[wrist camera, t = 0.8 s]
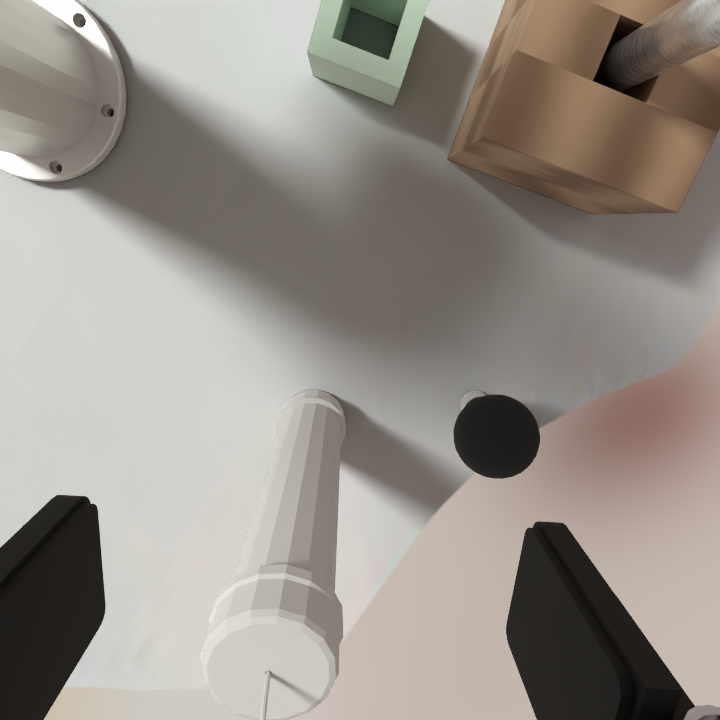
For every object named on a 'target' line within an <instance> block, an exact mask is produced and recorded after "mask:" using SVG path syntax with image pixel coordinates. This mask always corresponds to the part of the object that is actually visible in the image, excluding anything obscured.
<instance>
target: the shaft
mask: <svg viewBox="0 0 720 720" xmlns="http://www.w3.org/2000/svg"><path fill="white" fill-rule="evenodd" d="M719 46H720V0H681V1H679V2H678V3H676V4H675V5H673V6H672V7H670V8H669V9H667V10H666V11H664V12H663V13H661V14H660V15H658V16H657V17H655V18H654V19H652V20H650V21H649V22H647V23H646V24H644V25H643V26H641V27H640V28H638V29H637V30H635V31H634V32H632V33H631V34H629V35H628V36H626V37H625V38H623V39H622V40H620V41H619V42H617V43H616V44H614V45H613V46H611V47H610V48H608V49H607V50H606V51H605V53H604V56H603V58H602V60H601V63H600V65H599V67H598V70H597V78H598V81H599V83H600V84H601V85H603V86H606V87H608V88H611V89H613V90H616V91H618V92H622V91H625V90H627V89H629V88H631V87H633V86H635V85H637V84H640V83H642V82H644V81H646V80H648V79H650V78H652V77H655V76H657V75H659V74H661V73H663V72H665V71H667V70H670V69H672V68H674V67H676V66H678V65H680V64H682V63H685V62H687V61H689V60H691V59H693V58H695V57H697V56H699V55H702V54H704V53H706V52H708V51H710V50H712V49H714V48H717V47H719Z"/></svg>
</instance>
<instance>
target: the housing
mask: <svg viewBox="0 0 720 720" xmlns="http://www.w3.org/2000/svg"><path fill="white" fill-rule="evenodd" d="M679 1H681V0H505V3H504V6H503V8H502V11H501V14H500V17H499V19H498V22H497V25H496V28H495V30H494V33H493V36H492V39H491V41H490V44H489V47H488V50H487V52H486V55H485V58H484V61H483V63H482V66H481V69H480V72H479V74H478V77H477V80H476V83H475V85H474V88H473V91H472V93H471V96H470V99H469V102H468V104H467V107H466V110H465V113H464V115H463V118H462V121H461V124H460V126H459V129H458V132H457V135H456V137H455V140H454V143H453V146H452V148H451V151H450V154H449V157H448V160H451V161H454V162H456V163H459V164H461V165H464V166H467V167H469V168H472V169H475V170H477V171H480V172H483V173H485V174H488V175H490V176H493V177H496V178H498V179H501V180H504V181H506V182H509V183H512V184H514V185H517V186H520V187H522V188H525V189H527V190H530V191H533V192H535V193H538V194H541V195H543V196H546V197H549V198H551V199H554V200H557V201H559V202H562V203H564V204H567V205H570V206H572V207H575V208H578V209H580V210H583V211H586V212H588V213H591V214H631V213H678V211H679V209H680V207H681V205H682V203H683V201H684V199H685V197H686V195H687V193H688V191H689V189H690V187H691V185H692V183H693V181H694V179H695V177H696V175H697V173H698V171H699V169H700V167H701V165H702V163H703V161H704V159H705V157H706V155H707V153H708V151H709V149H710V147H711V145H712V143H713V141H714V139H715V137H716V135H717V133H718V131H719V129H720V46H719V47H717V48H714V49H712V50H710V51H708V52H706V53H704V54H702V55H699V56H697V57H695V58H693V59H691V60H689V61H687V62H685V63H682V64H680V65H678V66H676V67H674V68H672V69H670V70H667V71H665V72H663V73H661V74H659V75H657V76H655V77H652V78H650V79H648V80H646V81H644V82H642V83H640V84H637V85H635V86H633V87H631V88H629V89H627V90H625V91H622V92H618V91H616V90H613V89H611V88H608V87H606V86H603V85H601V84H600V83H599V81H598V78H597V70H598V67H599V65H600V63H601V60H602V58H603V56H604V53H605V51H606V50H607V49H608V48H610V47H611V46H613V45H614V44H616V43H617V42H619V41H620V40H622V39H623V38H625V37H626V36H628V35H629V34H631V33H632V32H634V31H635V30H637V29H638V28H640V27H641V26H643V25H644V24H646V23H647V22H649V21H650V20H652V19H654V18H655V17H657V16H658V15H660V14H661V13H663V12H664V11H666V10H667V9H669V8H670V7H672V6H673V5H675V4H676V3H678V2H679Z"/></svg>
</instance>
